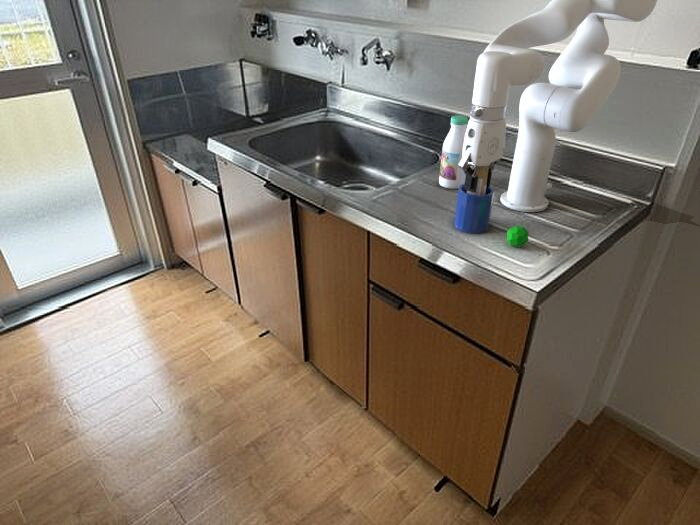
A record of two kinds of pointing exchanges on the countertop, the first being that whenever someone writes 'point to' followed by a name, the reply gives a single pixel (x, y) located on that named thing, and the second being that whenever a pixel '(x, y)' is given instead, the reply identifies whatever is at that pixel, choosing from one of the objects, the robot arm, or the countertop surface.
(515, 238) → the polyhedron
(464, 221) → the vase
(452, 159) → the milk bottle
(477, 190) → the sprinkles bottle
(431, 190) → the countertop surface
